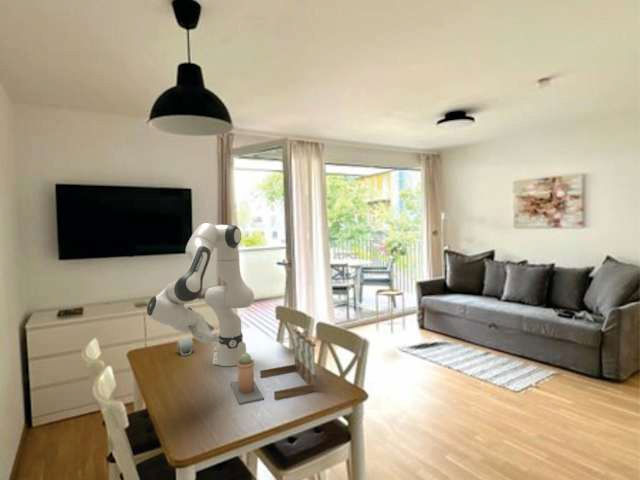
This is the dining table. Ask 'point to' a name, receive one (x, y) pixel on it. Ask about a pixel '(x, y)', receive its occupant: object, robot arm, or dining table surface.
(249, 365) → the seedling pot
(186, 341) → the ceramic mug
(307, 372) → the brown wooden frame
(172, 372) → the dining table surface
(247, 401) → the potting mat
